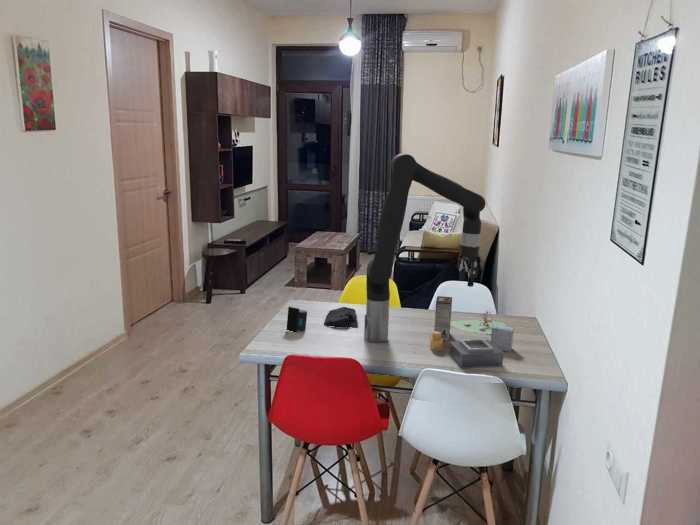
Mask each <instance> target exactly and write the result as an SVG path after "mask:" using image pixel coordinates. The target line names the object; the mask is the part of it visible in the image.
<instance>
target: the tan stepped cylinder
mask: <svg viewBox="0 0 700 525" xmlns="http://www.w3.org/2000/svg"><path fill="white" fill-rule="evenodd" d="M429 340H430V342H429V349H430V350H432V351H434V352H436V351H437V352H440V351H442V350H443V344H444V343H443V341H444V340H443V339H442V338H441V332H437V331H435V332H434V331H433V332H432V336H431V337H430V339H429Z"/></svg>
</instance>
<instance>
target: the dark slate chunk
mask: <svg viewBox="0 0 700 525" xmlns="http://www.w3.org/2000/svg"><path fill="white" fill-rule="evenodd" d="M328 312H329V313H328ZM328 312H327V314H328V315H327V314H326V317H325V318H326V319H324V322H323V324H324V325H326V326H334V327H333V328H336V327H347V328H346V329H349V328H350V327H353V328H358V327H359V322H358V317H357V313H356V312H357V311H356V309H355V308H351V307H347V306H342V307H339V308H335V309H331V310H329V311H328ZM326 326H325V327H326ZM348 327H349V328H348Z"/></svg>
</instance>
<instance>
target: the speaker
mask: <svg viewBox="0 0 700 525" xmlns="http://www.w3.org/2000/svg"><path fill="white" fill-rule="evenodd" d="M307 317H308V310H305V309H304V310H303V309H300V308H298V307H292V306H288V307H287V319H286V330H289V331H293V332H292V333H294V332H297V333H298V332H305V331H306V328H307V319H308V318H307ZM289 331H288V332H289Z"/></svg>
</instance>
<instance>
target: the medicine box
mask: <svg viewBox="0 0 700 525" xmlns="http://www.w3.org/2000/svg"><path fill="white" fill-rule="evenodd" d="M514 330H515V329H514V328H513V327H510V326H507V327H504V326H498V325H494V326H493V327H492V333H491V335H490V341H491V342H492V343H493V344H494V345H495V346H496V347H498V348H499V349H500V350H501V351H503V352H511V351H512V348H513V343H514V342H513V341H514V340H513V339H514Z"/></svg>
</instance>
